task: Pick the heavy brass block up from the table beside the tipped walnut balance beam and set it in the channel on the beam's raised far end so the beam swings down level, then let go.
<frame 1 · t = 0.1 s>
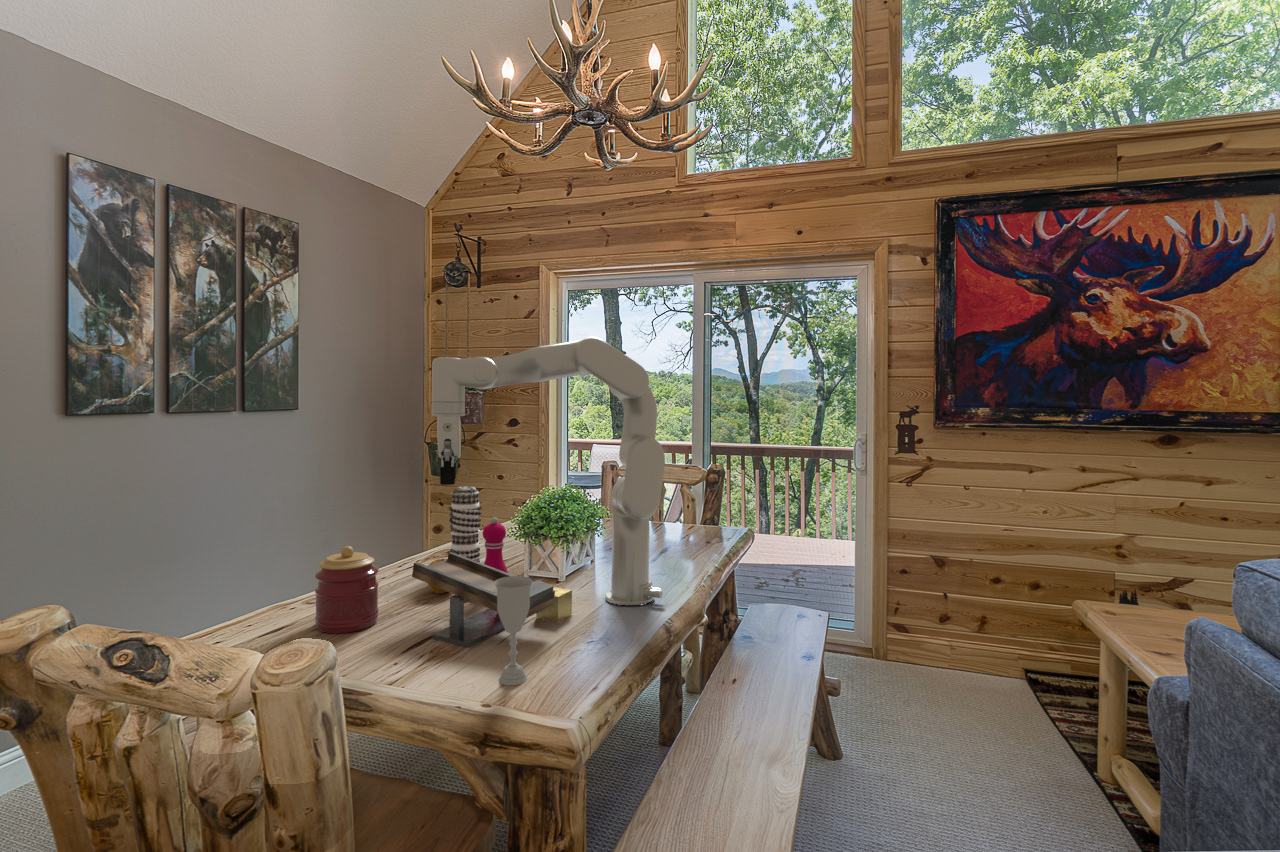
hand: (448, 481, 151), 31 cm above the table, tool pointing down, fingers open, 9 cm apart
pepper mill: (493, 593, 168), on the table
chalice: (512, 680, 116), on the table
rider: (554, 616, 150), on the table
stand: (481, 627, 142), on the table
beam: (483, 583, 141), point 10 cm above the table, hinge at -10.0°
apple: (442, 592, 167), on the table
canister: (347, 625, 143), on the table
decorative candle: (465, 572, 187), on the table
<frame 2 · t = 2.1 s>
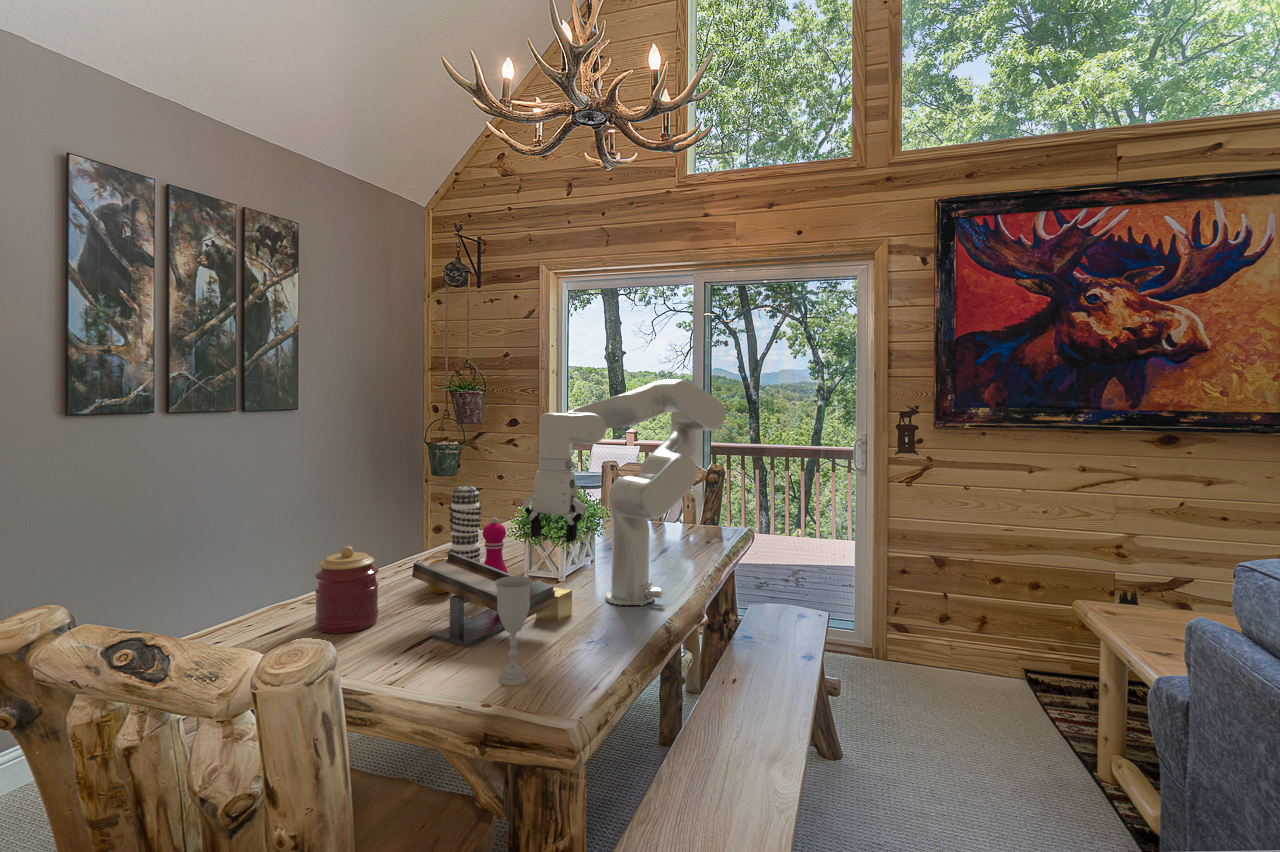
hand: (553, 538, 149), 19 cm above the table, tool pointing down, fingers open, 9 cm apart
nothing on the table moved.
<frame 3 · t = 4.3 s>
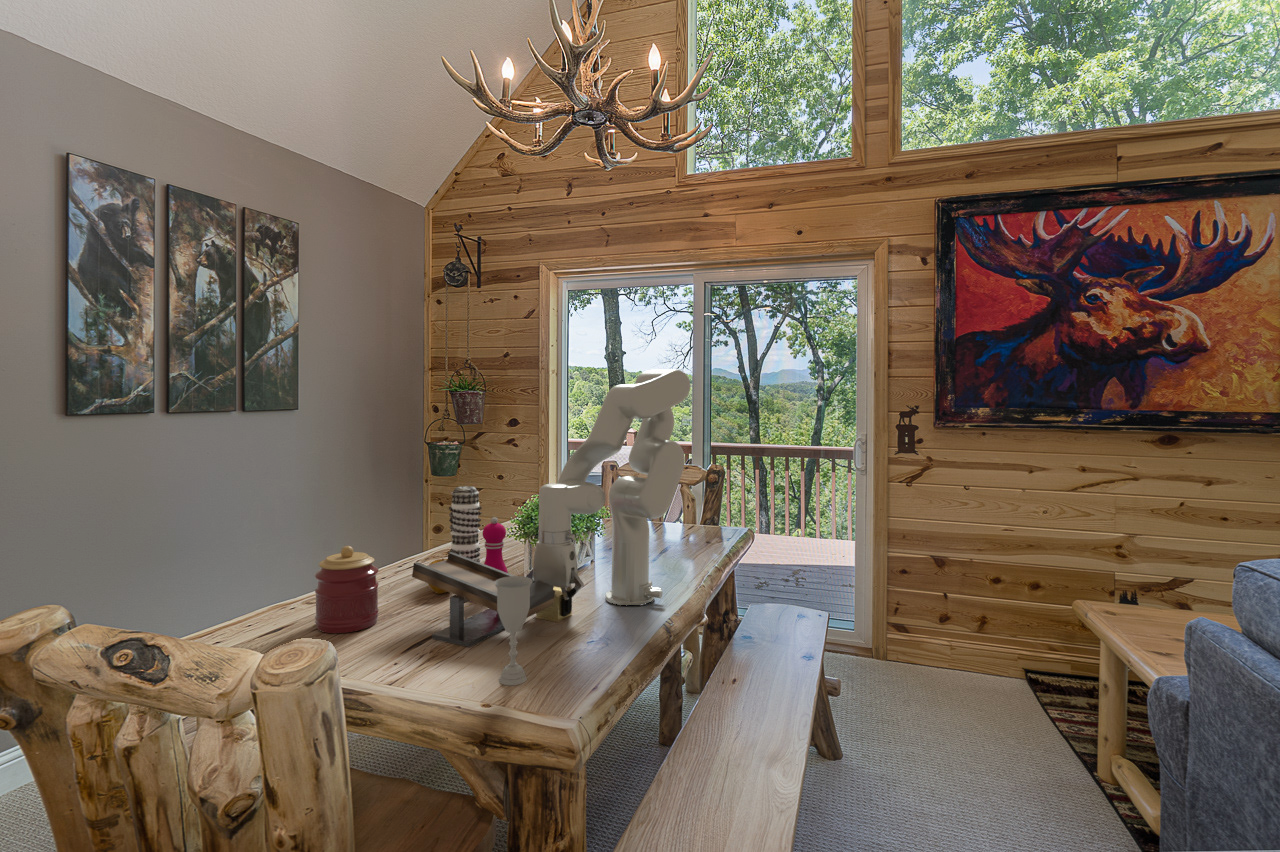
hand: (554, 611, 150), 1 cm above the table, tool pointing down, fingers closed on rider, 6 cm apart
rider: (554, 616, 150), on the table, touching gripper
everything else where it was.
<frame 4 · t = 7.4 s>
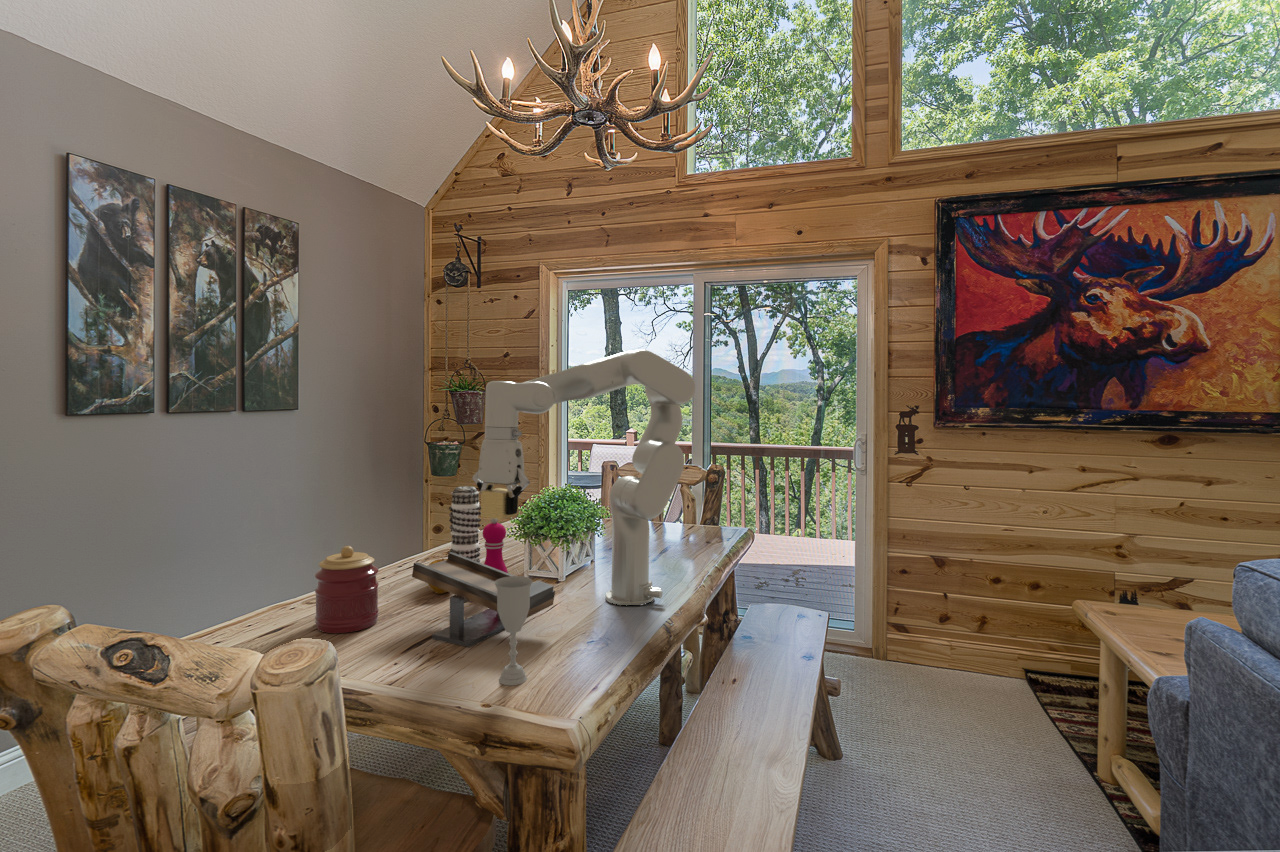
hand: (499, 511, 147), 25 cm above the table, tool pointing down, fingers closed on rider, 6 cm apart
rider: (499, 516, 147), point 24 cm above the table, touching gripper
everything else where it was.
when the fingers open (14 cm above the table, at t = 11.0 s): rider drops 1 cm, resting on beam.
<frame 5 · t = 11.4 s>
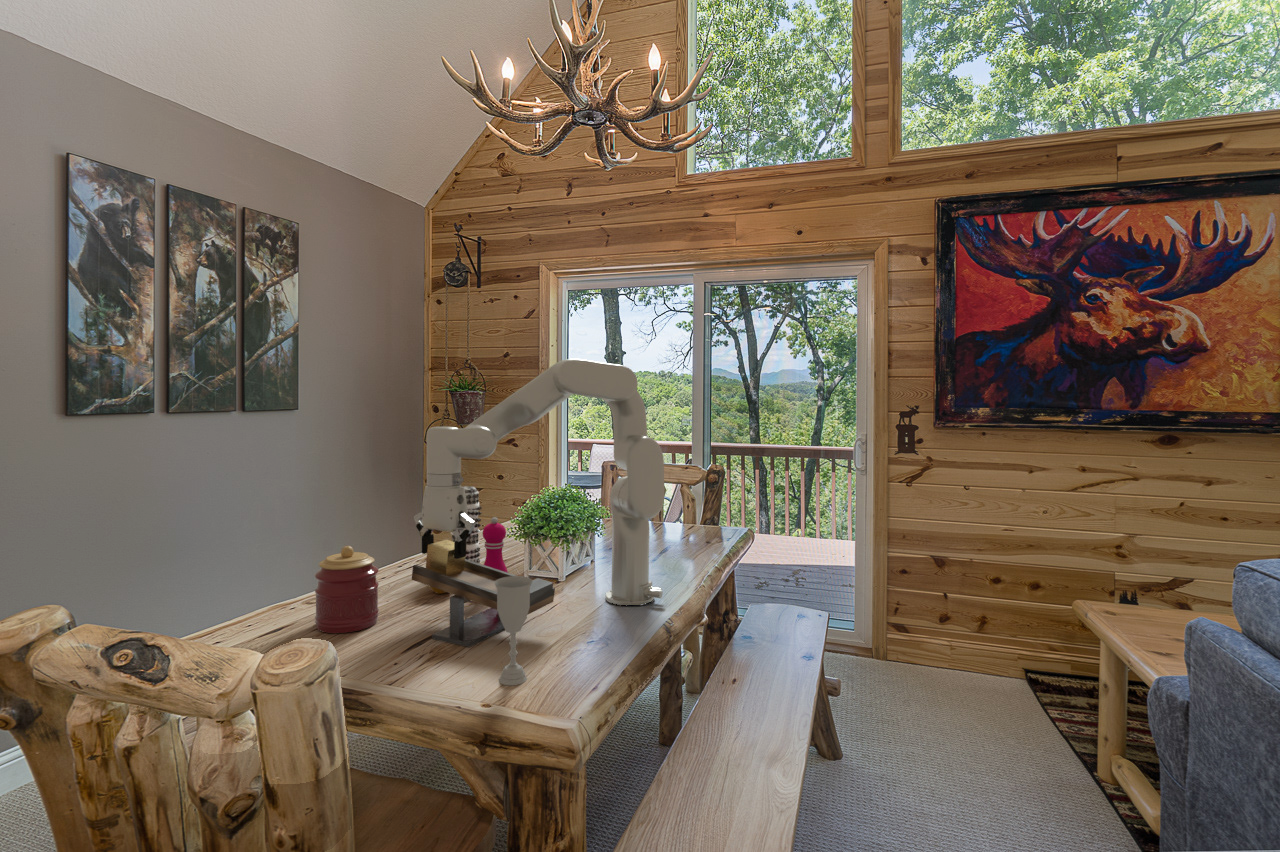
hand: (443, 555, 146), 15 cm above the table, tool pointing down, fingers open, 9 cm apart
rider: (444, 570, 146), point 11 cm above the table, tilted 7°, touching beam
beam: (482, 583, 141), point 10 cm above the table, hinge at -7.5°, touching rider
everything else where it was.
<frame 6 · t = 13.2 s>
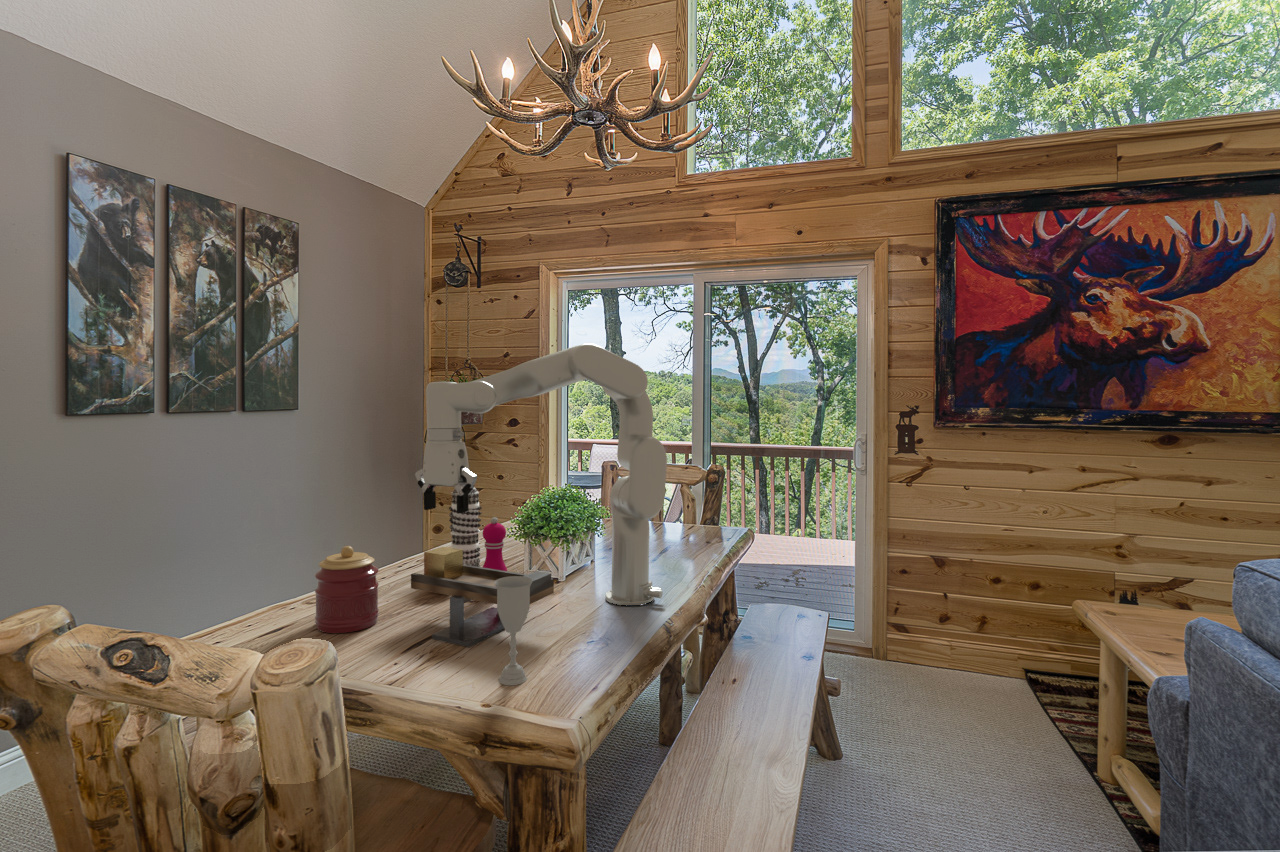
hand: (446, 510, 146), 25 cm above the table, tool pointing down, fingers open, 9 cm apart
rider: (443, 576, 147), point 10 cm above the table, touching beam
beam: (481, 583, 141), point 10 cm above the table, hinge at 0.1°, touching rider
everything else where it was.
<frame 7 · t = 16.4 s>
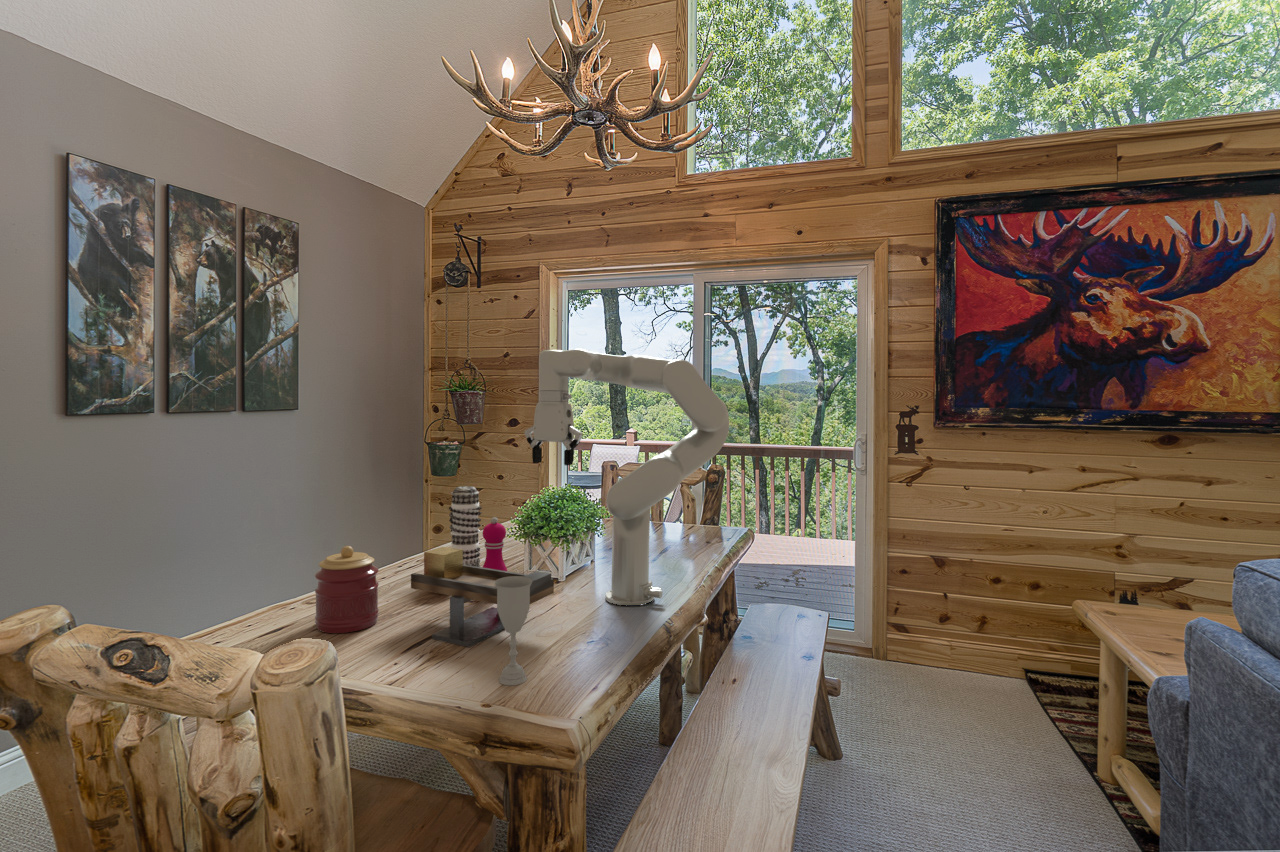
hand: (552, 463, 166), 34 cm above the table, tool pointing down, fingers open, 9 cm apart
nothing on the table moved.
at the end: beam at +0° (first picture: -10°); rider inside the target area on the beam (0.6 cm from its centre), point 2.0 cm above the beam's base; the gripper is holding nothing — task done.
